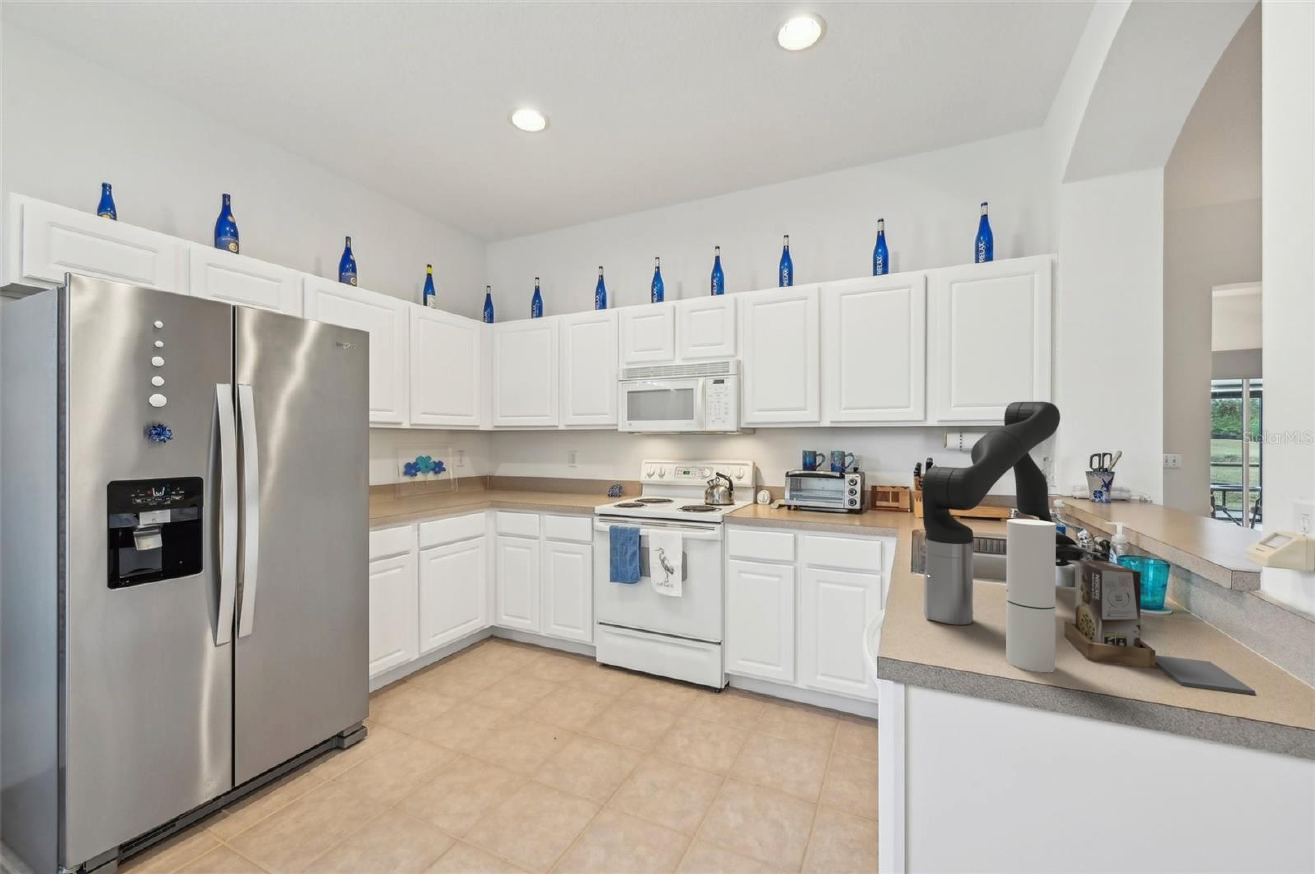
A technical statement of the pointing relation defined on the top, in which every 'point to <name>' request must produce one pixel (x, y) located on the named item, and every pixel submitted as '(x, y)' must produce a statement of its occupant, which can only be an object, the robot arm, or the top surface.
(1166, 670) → the rubber mat
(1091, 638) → the coffee box
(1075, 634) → the walnut sleeve
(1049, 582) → the cylindrical container
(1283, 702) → the top surface
